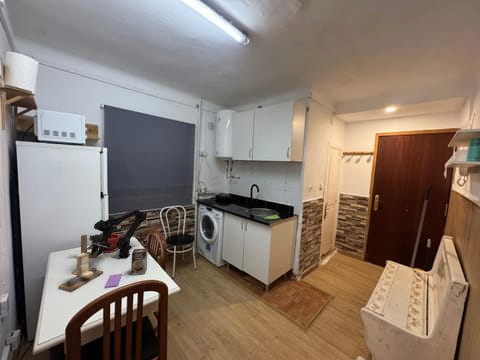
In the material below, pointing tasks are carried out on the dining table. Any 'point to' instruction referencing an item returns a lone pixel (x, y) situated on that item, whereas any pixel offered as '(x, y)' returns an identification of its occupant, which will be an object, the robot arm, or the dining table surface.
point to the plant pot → (113, 242)
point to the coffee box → (139, 261)
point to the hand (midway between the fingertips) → (93, 255)
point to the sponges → (113, 280)
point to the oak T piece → (82, 266)
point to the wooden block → (84, 247)
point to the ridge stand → (79, 281)
